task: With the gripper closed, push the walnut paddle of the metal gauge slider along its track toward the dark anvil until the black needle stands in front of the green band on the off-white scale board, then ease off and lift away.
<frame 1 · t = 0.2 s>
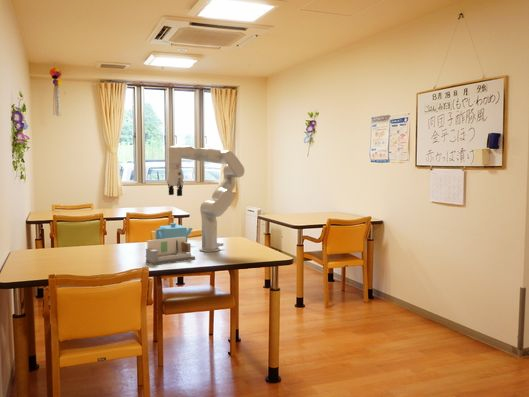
hand: (175, 195, 300), 36 cm above the table, tool pointing down, fingers open, 9 cm apart
gauge base: (170, 260, 286), on the table
container: (174, 246, 334), on the table
gauge slider: (181, 249, 290), point 6 cm above the table, slide at 0.0 cm
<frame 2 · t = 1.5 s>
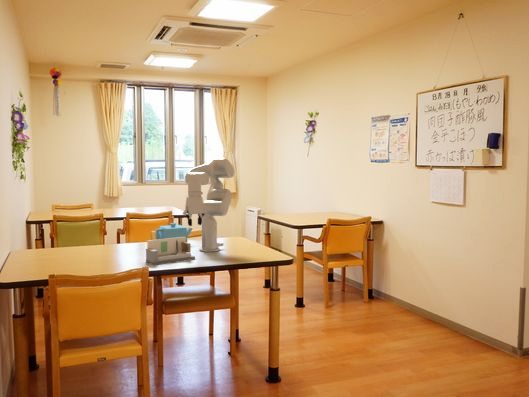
hand: (194, 224, 292), 20 cm above the table, tool pointing down, fingers open, 5 cm apart
nothing on the table moved.
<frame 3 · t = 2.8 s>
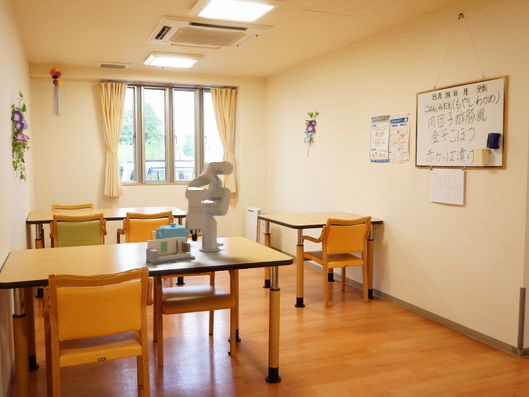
hand: (194, 241, 292), 10 cm above the table, tool pointing down, fingers closed
nothing on the table moved.
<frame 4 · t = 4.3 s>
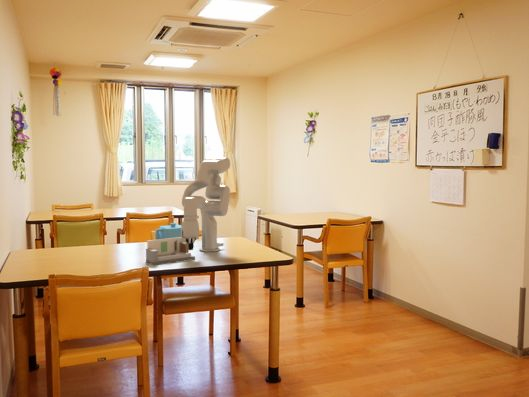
hand: (190, 249, 292), 5 cm above the table, tool pointing down, fingers closed
gauge slider: (179, 249, 289), point 6 cm above the table, slide at 1.3 cm, touching gripper
everything else where it was.
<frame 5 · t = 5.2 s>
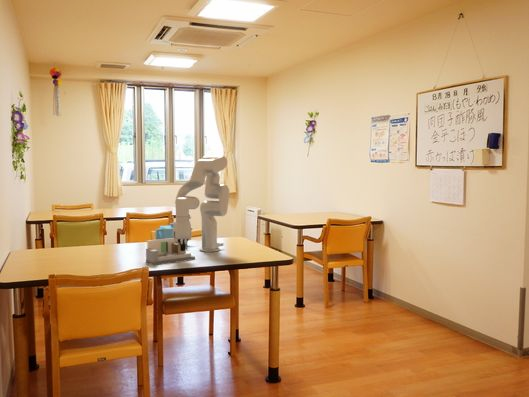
hand: (182, 250, 289), 5 cm above the table, tool pointing down, fingers closed
gauge slider: (171, 250, 286), point 6 cm above the table, slide at 6.5 cm, touching gripper
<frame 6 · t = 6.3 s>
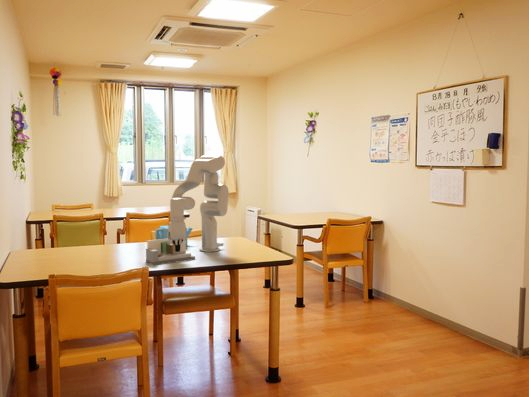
hand: (177, 251, 287), 5 cm above the table, tool pointing down, fingers closed
gauge slider: (165, 251, 284), point 6 cm above the table, slide at 9.8 cm, touching gripper
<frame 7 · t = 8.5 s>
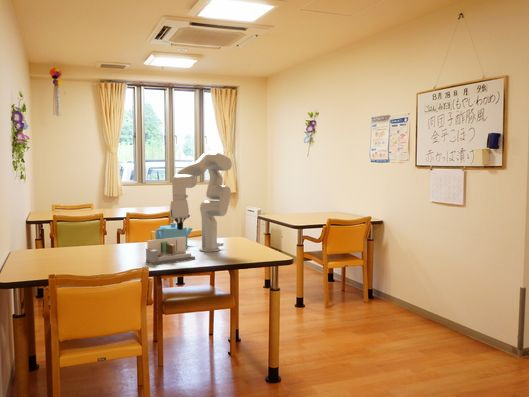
hand: (180, 229, 287), 18 cm above the table, tool pointing down, fingers closed
gauge slider: (165, 251, 284), point 6 cm above the table, slide at 9.8 cm
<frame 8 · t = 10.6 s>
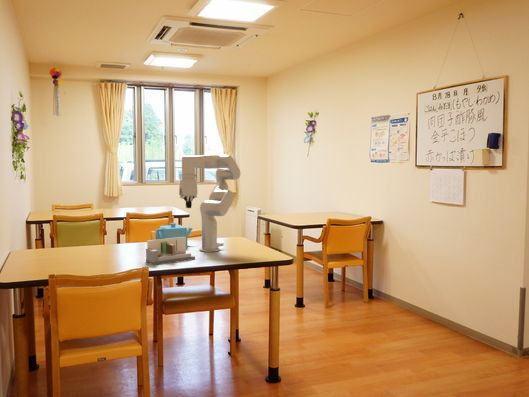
hand: (188, 207, 295), 29 cm above the table, tool pointing down, fingers closed
at the end: gauge slider slide at 9.8 cm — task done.
